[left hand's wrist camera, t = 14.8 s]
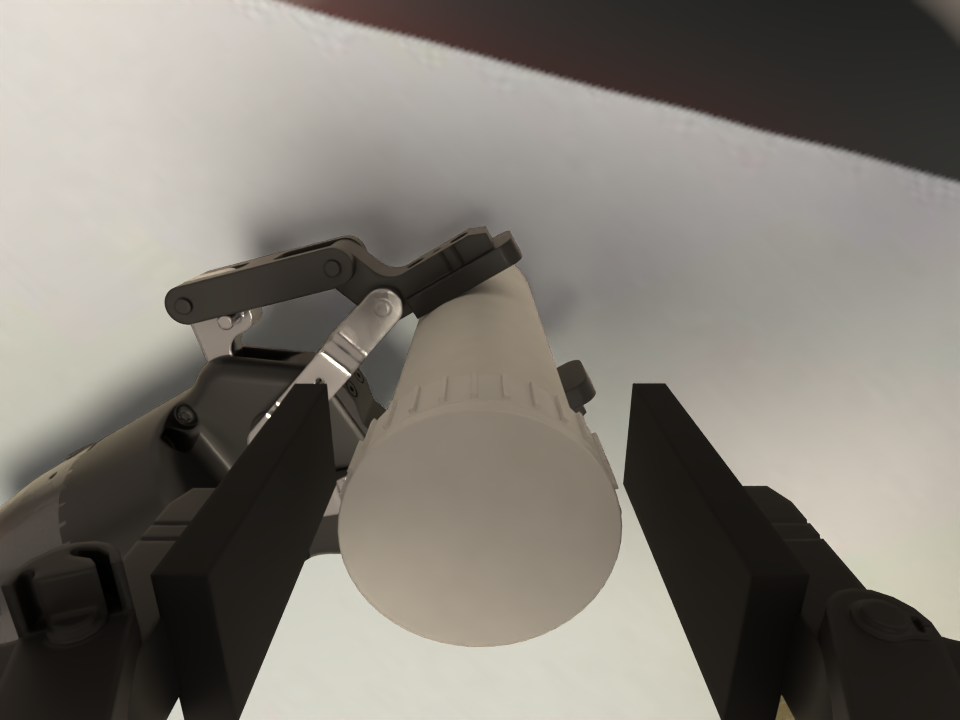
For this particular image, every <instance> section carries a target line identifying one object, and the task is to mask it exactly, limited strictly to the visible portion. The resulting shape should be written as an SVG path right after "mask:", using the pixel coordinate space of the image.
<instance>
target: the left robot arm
mask: <svg viewBox="0 0 960 720" xmlns="http://www.w3.org/2000/svg"><path fill="white" fill-rule="evenodd" d="M336 484H337V481H336V471H335V460H334V450H333V440H332V429H331V419H330V409H329V398H328V388H327V383H295V384H294V385H293V387H292V388H291V389H290V391H289V392H288V393H287V395H286V396H285V397H284V399H283V400H282V401H281V403H280V404H279V405H278V406H277V408H276V409H275V410H274V412H273V413H272V414H271V416H270V417H269V418H268V420H267V421H266V422H265V424H264V425H263V426H262V428H261V429H260V430H259V432H258V433H257V434H256V436H255V437H254V438H253V440H252V441H251V442H250V444H249V445H248V446H247V448H246V449H245V450H244V452H243V453H242V454H241V455H240V457H239V458H238V459H237V461H236V462H235V463H234V465H233V466H232V467H231V469H230V470H229V471H228V473H227V474H226V475H225V477H224V478H223V479H222V481H221V482H220V483H219V485H218V486H217V487H216V488H192V489H191V490H189V491H188V492H186V493H185V494H183V495H182V496H180V497H178V498H177V499H175V500H174V501H172V502H171V503H169V504H168V505H167V507H166V508H165V509H164V510H163V511H162V512H161V514H160V515H159V516H158V517H157V518H156V520H155V521H154V524H153V525H150V527H149V528H148V529H147V530H146V531H145V532H144V534H143V535H142V536H141V540H140V541H137V542H136V543H135V544H134V545H133V547H132V548H131V549H130V550H129V551H128V552H127V554H126V555H125V556H124V557H123V558H122V557H121V553H120V550H119V549H117V548H116V547H115V546H114V545H112V544H111V543H105V542H99V541H88V542H78V543H72V544H69V545H65V546H62V547H58V548H55V549H52V550H50V551H47V552H45V553H43V554H41V555H39V556H37V557H35V558H33V559H30V560H29V561H28V562H26V563H25V564H23V565H22V566H21V567H19V568H18V569H16V570H15V571H13V572H12V573H11V574H10V576H9V577H8V578H7V579H6V581H5V582H4V583H3V584H2V585H1V589H2V592H3V595H4V597H5V600H6V603H7V606H8V609H9V612H10V615H11V618H12V620H13V623H14V626H15V629H16V632H17V635H18V640H14V641H11V642H7V643H2V644H0V720H167V718H168V716H169V714H170V712H171V711H172V709H173V707H174V705H175V703H176V701H177V699H178V698H179V699H180V703H181V707H182V711H183V716H184V720H239V718H240V716H241V714H242V711H243V709H244V706H245V704H246V701H247V699H248V697H249V694H250V692H251V689H252V687H253V685H254V682H255V680H256V677H257V675H258V673H259V670H260V668H261V665H262V663H263V660H264V658H265V656H266V653H267V651H268V648H269V646H270V644H271V641H272V639H273V636H274V634H275V632H276V629H277V627H278V624H279V622H280V619H281V617H282V615H283V612H284V610H285V607H286V605H287V603H288V600H289V598H290V595H291V593H292V591H293V588H294V586H295V583H296V581H297V578H298V576H299V574H300V571H301V569H302V566H303V564H304V562H305V559H306V557H307V554H308V552H309V550H310V547H311V545H312V542H313V540H314V538H315V535H316V533H317V530H318V528H319V525H320V523H321V521H322V518H323V516H324V513H325V511H326V509H327V506H328V504H329V501H330V499H331V497H332V494H333V492H334V489H335V487H336ZM623 484H624V487H625V489H626V492H627V494H628V497H629V499H630V501H631V504H632V506H633V509H634V511H635V513H636V516H637V518H638V521H639V523H640V525H641V528H642V530H643V533H644V535H645V538H646V540H647V542H648V545H649V547H650V550H651V552H652V554H653V557H654V559H655V562H656V564H657V566H658V569H659V571H660V574H661V576H662V579H663V581H664V583H665V586H666V588H667V591H668V593H669V595H670V598H671V600H672V603H673V605H674V607H675V610H676V612H677V615H678V617H679V619H680V622H681V624H682V627H683V629H684V632H685V634H686V636H687V639H688V641H689V644H690V646H691V648H692V651H693V653H694V656H695V658H696V660H697V663H698V665H699V668H700V670H701V673H702V675H703V677H704V680H705V682H706V685H707V687H708V689H709V692H710V694H711V697H712V699H713V701H714V704H715V706H716V709H717V711H718V714H719V716H720V718H721V720H776V716H777V711H778V707H779V703H780V699H781V695H782V696H783V698H784V700H785V702H786V704H787V706H788V707H789V709H790V711H791V713H792V715H793V717H794V719H795V720H960V641H956V640H952V639H948V638H945V637H941V635H940V634H939V632H938V631H937V630H936V628H935V627H934V625H933V624H932V623H931V622H930V621H929V620H928V619H927V618H926V617H924V616H923V615H922V614H921V613H919V612H918V611H917V610H916V609H914V608H913V607H911V606H909V605H907V604H905V603H903V602H901V601H900V600H898V599H896V598H894V597H891V596H888V595H885V594H882V593H879V592H876V591H873V590H867V589H866V588H865V587H864V586H863V585H862V584H861V582H860V581H859V580H858V579H857V578H856V577H855V575H854V574H853V573H852V572H851V571H850V570H849V568H848V567H847V566H846V565H845V564H844V563H843V561H842V560H841V559H840V558H839V557H838V556H837V554H836V553H835V552H834V551H833V550H832V549H831V547H830V546H829V545H828V544H827V543H826V542H825V540H824V539H820V535H819V533H818V532H817V531H816V530H815V529H814V528H813V526H812V525H811V524H810V523H807V519H806V518H805V517H804V516H803V515H802V514H801V512H800V511H799V510H798V509H797V508H796V507H795V505H794V504H793V503H792V502H791V501H790V500H788V499H786V498H785V497H783V496H782V495H780V494H779V493H777V492H776V491H774V490H772V489H771V488H769V487H768V486H742V485H741V483H740V482H739V481H738V479H737V478H736V477H735V475H734V474H733V473H732V471H731V470H730V469H729V467H728V466H727V465H726V463H725V462H724V461H723V459H722V458H721V457H720V455H719V454H718V453H717V452H716V450H715V449H714V448H713V446H712V445H711V444H710V442H709V441H708V440H707V438H706V437H705V436H704V434H703V433H702V432H701V430H700V429H699V428H698V426H697V425H696V424H695V422H694V421H693V420H692V418H691V417H690V416H689V414H688V413H687V412H686V410H685V409H684V408H683V407H682V405H681V404H680V403H679V401H678V400H677V399H676V397H675V396H674V395H673V393H672V392H671V391H670V389H669V388H668V387H667V385H666V384H665V383H633V388H632V398H631V408H630V419H629V429H628V440H627V450H626V460H625V471H624V481H623Z"/></svg>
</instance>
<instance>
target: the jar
mask: <svg viewBox="0 0 960 720" xmlns="http://www.w3.org/2000/svg"><path fill="white" fill-rule="evenodd" d="M472 372H477V374H478V375H493V376H502V373H503V374H507V375H508V378H512V379H516V380H521V381H523V382H526V383H529V384H530V382H531V381H533V382H536V385H537V387H539V388H541V389H543V390H545V391H547V392H549V393H551V394H552V395H554V396H556V395H557V394H559V395H560V396H561V397H562V400H563V402H564V403H565V404H566V405H567V406H569V404H568V401H567V398H566V395H565V392H564V389H563V386H562V383H561V380H560V377H559V374H558V371H557V368H556V365H555V362H554V359H553V356H552V353H551V350H550V347H549V344H548V341H547V338H546V335H545V332H544V329H543V326H542V323H541V320H540V317H539V314H538V312H537V309H536V306H535V303H534V300H533V297H532V294H531V291H530V288H529V285H528V283H527V280H526V279H525V277H524V275H523V274H522V273H521V271H520V270H519V269H518V268H517V267H516V266H515V265H512V266H511V267H509V268H507V269H505V270H504V271H502V272H500V273H498V274H496V275H495V276H493V277H491V278H489V279H488V280H486V281H484V282H482V283H481V284H479V285H477V286H475V287H473V288H472V289H470V290H468V291H466V292H465V293H463V294H461V295H459V296H457V297H456V298H454V299H452V300H450V301H448V302H446V303H444V304H443V305H441V306H439V307H438V308H436V309H434V310H433V311H431V312H429V313H427V314H426V315H424V316H422V317H420V319H419V322H418V325H417V328H416V331H415V334H414V337H413V340H412V343H411V346H410V349H409V352H408V355H407V358H406V361H405V364H404V367H403V370H402V373H401V376H400V379H399V382H398V385H397V388H396V390H395V393H394V396H393V399H392V400H395V401H396V402H397V401H399V400H400V399H401V398H402V397H404V396H406V395H408V394H409V393H411V392H413V390H414V387H415V386H417V385H420V387H423V386H425V385H428V384H430V383H433V382H436V381H440V380H441V379H442V376H446V375H447V376H448V378H451V377H458V376H465V375H472Z"/></svg>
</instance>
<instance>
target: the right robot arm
mask: <svg viewBox="0 0 960 720" xmlns="http://www.w3.org/2000/svg"><path fill="white" fill-rule="evenodd" d="M521 258H522V255H521V252H520V249H519V247H518V246H517V244H516V242H515V240H514V238H513V236H512V235H511V233H510V231H506V232H503V233H501V234H499V235H497V236H496V237H494V238H492V237H491V235H490V233H489V232H488V230H487V228H486V226H485V227H478V228H471V229H468V230H466V231H464V232H463V233H461V234H459V235H457V236H456V237H454V238H453V239H451V240H449V241H447V242H446V243H444V244H442V245H440V246H439V247H437V248H435V249H434V250H432V251H430V252H428V253H427V254H425V255H423V256H422V257H420V258H418V259H416V260H415V261H413V262H411V263H410V264H408V265H406V266H403V267H398V268H396V267H389V266H386V265H384V264H383V263H381V262H380V261H378V260H377V259H376V258H375V257H373V256H372V255H371V254H370V253H368V252H367V249H366V247H365V245H364V243H363V242H362V241H361V240H360V239H358V238H356V237H354V236H342V237H338V238H334V239H330V240H326V241H322V242H319V243H315V244H311V245H307V246H303V247H299V248H295V249H291V250H288V251H284V252H280V253H276V254H272V255H268V256H264V257H260V258H257V259H253V260H249V261H245V262H241V263H237V264H233V265H229V266H226V267H222V268H218V269H214V270H210V271H207V272H205V273H203V274H201V275H199V276H197V277H195V278H193V279H191V280H189V281H186V282H184V283H183V284H181V285H179V286H177V287H175V288H173V289H171V290H170V291H169V292H168V293H167V295H166V297H165V308H166V310H167V312H168V314H169V315H170V316H171V318H173V319H174V320H175V321H177V322H179V323H181V324H186V325H190V324H191V326H192V328H193V331H194V333H195V335H196V337H197V340H198V342H199V344H200V347H201V349H202V351H203V353H204V356H205V358H206V360H207V362H208V363H207V364H206V365H205V366H204V367H203V368H202V369H201V371H200V372H199V374H198V377H197V379H196V381H195V383H194V385H193V386H192V387H191V388H189V389H187V390H186V391H184V392H182V393H180V394H179V395H177V396H175V397H174V398H172V399H170V400H168V401H167V402H165V403H163V404H162V405H160V406H158V407H156V408H155V409H153V410H151V411H150V412H148V413H146V414H144V415H143V416H141V417H139V418H138V419H136V420H134V421H133V422H131V423H129V424H127V425H126V426H124V427H122V428H121V429H119V430H117V431H115V432H114V433H112V434H110V435H109V436H107V437H105V438H103V439H102V440H100V441H98V442H97V443H93V444H90V445H88V446H85V447H83V448H81V449H79V450H77V451H75V452H73V453H72V454H70V455H69V456H68V458H66V459H65V461H64V462H62V463H61V464H59V465H57V466H56V467H54V468H52V469H51V470H49V471H47V472H46V473H44V474H43V475H41V476H39V477H38V478H36V479H35V480H33V481H32V482H31V483H29V484H28V485H27V486H26V487H24V488H23V489H22V490H21V491H19V492H18V493H17V494H16V495H15V496H14V497H12V498H11V499H10V500H9V501H8V502H6V503H5V504H4V505H2V506H1V507H0V644H2V643H7V642H11V641H14V640H18V635H17V632H16V629H15V626H14V623H13V620H12V618H11V615H10V612H9V609H8V606H7V603H6V600H5V597H4V595H3V592H2V589H1V585H2V584H3V583H4V582H5V581H6V579H7V578H8V577H9V576H10V574H11V573H12V572H13V571H15V570H16V569H18V568H19V567H21V566H22V565H23V564H25V563H26V562H28V561H29V560H30V559H33V558H35V557H37V556H39V555H41V554H43V553H45V552H47V551H50V550H52V549H55V548H58V547H62V546H65V545H69V544H72V543H78V542H88V541H99V542H105V543H111V544H112V545H114V546H115V547H116V548H117V549H119V550H120V553H121V557H122V558H123V557H124V556H125V555H126V554H127V552H128V551H129V550H130V549H131V548H132V547H133V545H134V544H135V543H136V542H137V541H140V540H141V536H142V535H143V534H144V532H145V531H146V530H147V529H148V528H149V527H150V525H153V524H154V521H155V520H156V518H157V517H158V516H159V515H160V514H161V512H162V511H163V510H164V509H165V508H166V507H167V505H168V504H169V503H171V502H172V501H174V500H175V499H177V498H178V497H180V496H182V495H183V494H185V493H186V492H188V491H189V490H191V489H192V488H216V487H217V486H218V485H219V483H220V482H221V481H222V479H223V478H224V477H225V475H226V474H227V473H228V471H229V470H230V469H231V467H232V466H233V465H234V463H235V462H236V461H237V459H238V458H239V457H240V455H241V454H242V453H243V452H244V450H245V449H246V448H247V446H248V445H249V444H250V442H251V441H252V440H253V438H254V437H255V436H256V434H257V433H258V432H259V430H260V429H261V428H262V426H263V425H264V424H265V422H266V421H267V420H268V418H269V417H270V416H271V414H272V413H273V412H274V410H275V409H276V408H277V406H278V405H279V404H280V403H281V401H282V400H283V399H284V397H285V396H286V395H287V393H288V392H289V391H290V389H291V388H292V387H293V385H294V384H295V383H327V388H328V398H329V409H330V419H331V429H332V440H333V450H334V460H335V471H336V481H337V484H336V487H335V489H334V492H333V494H332V497H331V499H330V501H329V504H328V506H327V509H326V511H325V513H324V516H323V518H322V521H321V523H320V525H319V528H318V530H317V533H316V535H315V538H314V540H313V542H312V545H311V547H310V550H309V552H308V554H307V557H306V559H305V561H306V560H307V559H309V558H311V557H313V556H317V555H322V554H341V551H340V548H339V540H338V532H337V530H338V513H339V508H340V503H341V499H342V498H339V496H340V492H341V489H342V487H343V484H344V482H345V479H346V476H347V474H348V472H347V470H348V467H349V465H350V462H351V460H352V457H353V455H354V452H355V450H356V447H357V445H358V442H359V440H361V441H363V442H364V439H365V437H366V434H367V431H368V429H369V426H370V423H371V421H372V420H373V419H374V418H375V419H376V420H378V419H379V418H380V417H381V416H382V415H383V414H384V413H385V412H386V410H385V409H384V408H383V407H382V406H381V405H379V404H378V403H377V402H376V401H375V400H374V399H373V397H372V394H371V391H370V388H369V386H368V383H367V380H366V378H365V377H364V375H363V374H362V372H361V371H360V369H359V368H358V367H359V366H360V364H361V363H362V361H363V360H364V359H365V358H366V356H367V355H368V354H369V353H370V352H371V351H372V350H373V348H374V347H375V346H376V345H377V344H378V343H379V342H380V341H381V340H382V338H383V337H384V336H385V335H386V334H387V333H388V332H389V331H390V329H391V328H392V327H393V326H394V325H395V324H396V323H397V322H398V320H400V319H402V318H404V317H405V316H407V315H409V314H411V313H412V312H414V314H415V315H416V317H417V319H418V318H420V317H422V316H424V315H426V314H427V313H429V312H431V311H433V310H434V309H436V308H438V307H439V306H441V305H443V304H444V303H446V302H448V301H450V300H452V299H454V298H456V297H457V296H459V295H461V294H463V293H465V292H466V291H468V290H470V289H472V288H473V287H475V286H477V285H479V284H481V283H482V282H484V281H486V280H488V279H489V278H491V277H493V276H495V275H496V274H498V273H500V272H502V271H504V270H505V269H507V268H509V267H511V266H512V265H514V264H515V263H517V262H518V261H519V260H520V259H521ZM334 288H335V289H337V290H338V291H339V292H341V293H342V294H343V295H344V296H346V297H347V298H348V299H350V300H351V301H352V302H353V303H355V304H356V306H355V308H354V309H353V310H352V311H351V312H350V313H349V314H348V315H347V316H346V318H345V319H344V320H343V321H342V322H341V323H340V324H339V326H338V327H337V328H336V329H335V330H334V331H333V333H332V334H331V335H330V336H329V337H328V338H327V340H326V341H325V342H324V343H323V344H322V345H321V347H320V348H319V349H318V350H317V351H316V352H315V353H313V352H303V351H293V350H283V349H273V348H263V347H253V346H243V345H242V334H243V332H245V331H247V330H248V329H249V328H251V327H252V326H253V325H254V324H256V323H257V322H258V321H259V320H260V318H261V316H262V307H263V306H267V305H271V304H275V303H279V302H283V301H287V300H291V299H295V298H299V297H303V296H307V295H311V294H315V293H319V292H323V291H327V290H331V289H334ZM557 371H558V374H559V377H560V380H561V383H562V386H563V389H564V392H565V395H566V398H567V401H568V404H569V407H570V408H571V409H572V410H573V411H574V412H575V413H577V412H580V413H581V414H582V415H584V414H585V413H586V410H585V407H584V404H586V403H587V402H589V401H590V400H591V399H592V398H593V397H594V396H595V394H596V391H595V389H594V387H593V385H592V382H591V380H590V378H589V376H588V374H587V372H586V371H585V369H584V367H583V365H582V363H581V362H580V361H579V360H574V361H570V362H568V363H566V364H564V365H562V366H560V367H558V368H557Z"/></svg>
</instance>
